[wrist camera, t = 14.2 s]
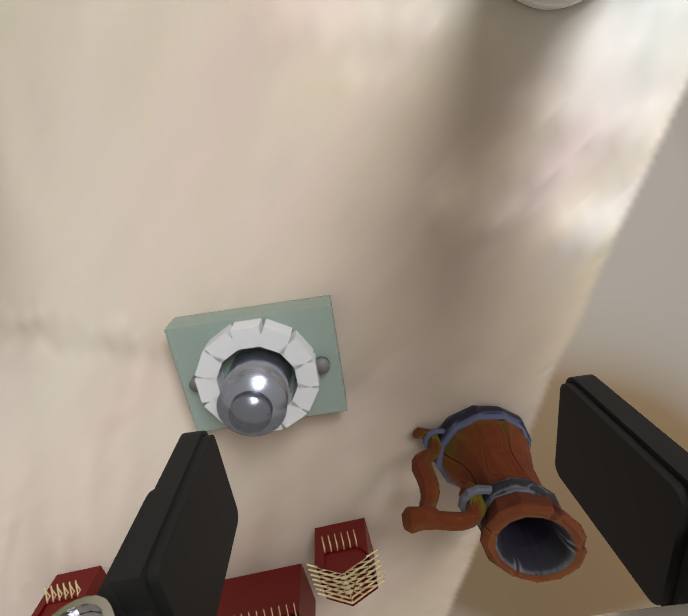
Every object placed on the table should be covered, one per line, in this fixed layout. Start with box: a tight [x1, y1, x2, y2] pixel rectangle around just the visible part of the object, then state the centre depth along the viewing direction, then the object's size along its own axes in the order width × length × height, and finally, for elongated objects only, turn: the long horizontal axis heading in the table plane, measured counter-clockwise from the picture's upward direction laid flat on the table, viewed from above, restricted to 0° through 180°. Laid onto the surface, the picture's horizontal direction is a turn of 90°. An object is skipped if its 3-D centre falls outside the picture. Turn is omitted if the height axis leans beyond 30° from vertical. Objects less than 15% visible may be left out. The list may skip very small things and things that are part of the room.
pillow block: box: [164, 295, 347, 431], centre depth 41 cm, size 16×12×5 cm
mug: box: [402, 406, 587, 582], centre depth 42 cm, size 18×12×15 cm, turn 73°
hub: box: [216, 347, 292, 436], centre depth 37 cm, size 6×6×7 cm
